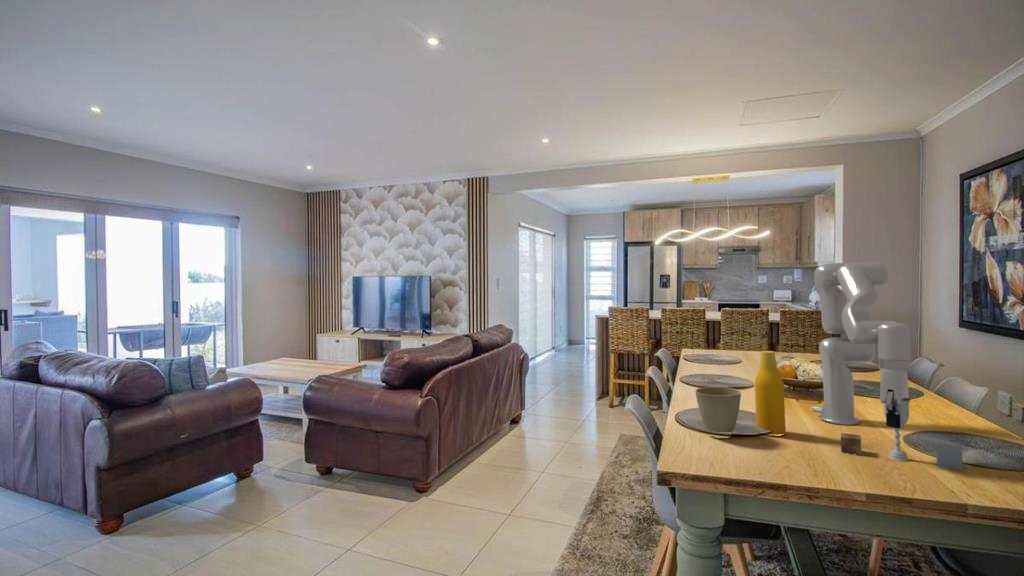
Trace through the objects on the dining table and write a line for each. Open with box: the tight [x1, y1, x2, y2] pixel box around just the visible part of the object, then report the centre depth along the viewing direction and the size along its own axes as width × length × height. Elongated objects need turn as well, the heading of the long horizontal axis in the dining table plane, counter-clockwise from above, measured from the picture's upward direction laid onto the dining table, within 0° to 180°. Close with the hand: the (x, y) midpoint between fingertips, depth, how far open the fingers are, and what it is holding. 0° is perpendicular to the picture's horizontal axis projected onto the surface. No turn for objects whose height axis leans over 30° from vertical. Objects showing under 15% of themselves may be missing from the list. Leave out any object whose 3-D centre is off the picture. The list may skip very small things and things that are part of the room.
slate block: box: [935, 444, 964, 471], centre depth 136 cm, size 5×5×5 cm
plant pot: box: [694, 386, 742, 432], centre depth 170 cm, size 15×15×16 cm
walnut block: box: [840, 432, 862, 456], centre depth 150 cm, size 5×5×5 cm
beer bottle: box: [754, 350, 787, 435], centre depth 171 cm, size 9×9×29 cm
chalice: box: [883, 397, 912, 462], centre depth 143 cm, size 7×7×18 cm
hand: (896, 424), depth 143 cm, fingers closed on chalice, 6 cm apart
